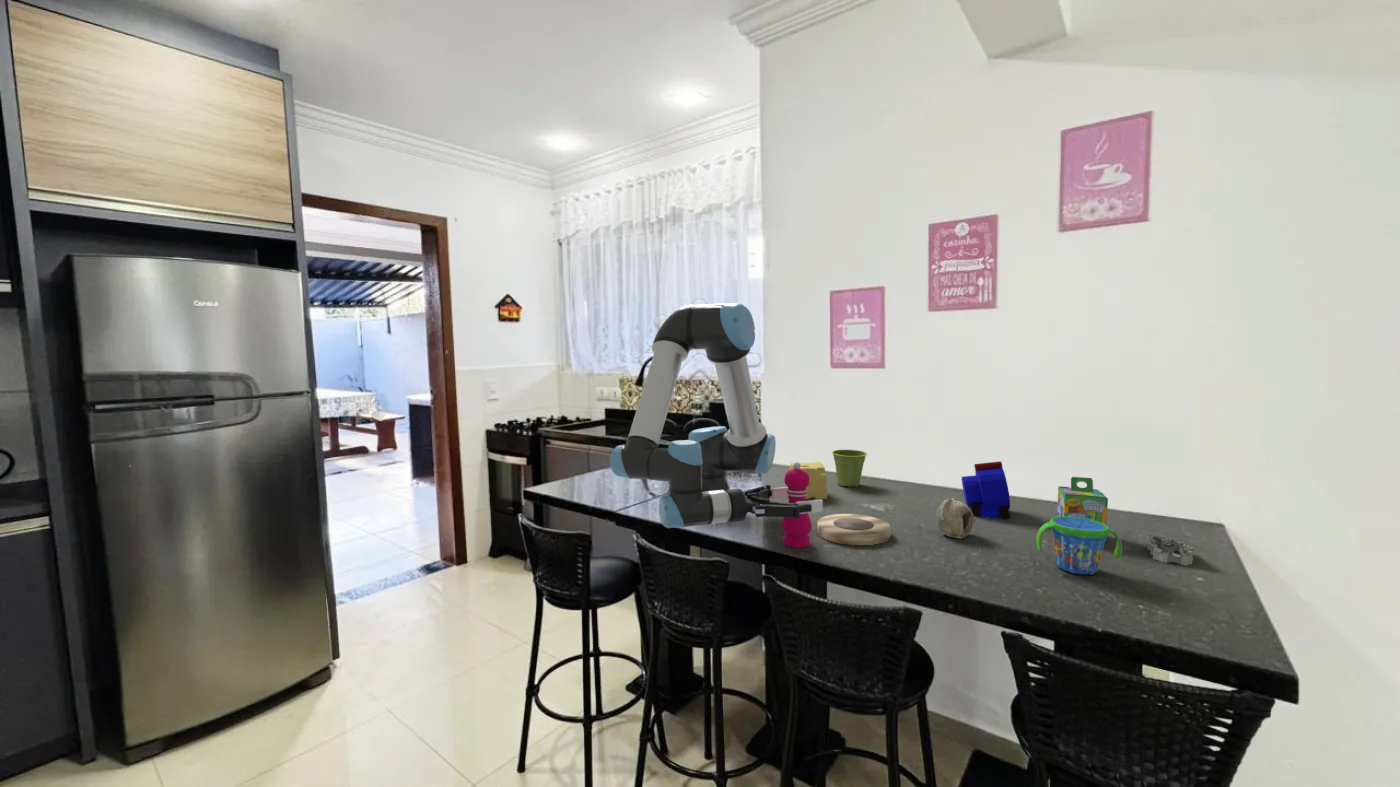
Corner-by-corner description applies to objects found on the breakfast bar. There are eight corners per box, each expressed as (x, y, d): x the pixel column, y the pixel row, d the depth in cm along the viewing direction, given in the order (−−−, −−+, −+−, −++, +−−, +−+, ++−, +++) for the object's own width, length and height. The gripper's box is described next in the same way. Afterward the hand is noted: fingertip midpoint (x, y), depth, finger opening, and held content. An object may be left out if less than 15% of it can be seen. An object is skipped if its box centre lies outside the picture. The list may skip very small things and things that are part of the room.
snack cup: (1113, 565, 127) (1115, 519, 127) (1128, 584, 118) (1131, 534, 117) (1031, 556, 133) (1033, 512, 132) (1039, 573, 123) (1041, 526, 123)
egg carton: (1194, 568, 126) (1195, 550, 126) (1150, 561, 130) (1151, 543, 130) (1186, 553, 135) (1187, 535, 135) (1145, 547, 139) (1146, 530, 139)
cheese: (827, 499, 183) (828, 468, 182) (793, 500, 183) (793, 468, 182) (821, 491, 193) (821, 461, 193) (788, 491, 194) (788, 461, 193)
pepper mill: (811, 549, 139) (812, 466, 137) (780, 547, 140) (780, 465, 139) (811, 539, 146) (812, 460, 144) (782, 537, 147) (782, 459, 146)
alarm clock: (1012, 520, 161) (1014, 466, 160) (963, 516, 165) (964, 463, 163) (1004, 508, 172) (1006, 457, 171) (959, 504, 176) (960, 455, 175)
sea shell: (941, 546, 147) (929, 510, 146) (940, 531, 155) (928, 496, 153) (981, 540, 143) (969, 503, 142) (978, 524, 151) (967, 489, 150)
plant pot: (832, 488, 197) (832, 455, 196) (830, 480, 209) (830, 449, 208) (868, 489, 195) (869, 456, 194) (864, 481, 207) (865, 449, 206)
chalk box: (1062, 540, 144) (1064, 480, 143) (1055, 529, 152) (1057, 473, 151) (1106, 544, 141) (1109, 483, 139) (1096, 533, 149) (1099, 475, 148)
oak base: (804, 526, 156) (805, 517, 156) (864, 520, 161) (864, 511, 161) (840, 549, 139) (840, 538, 139) (905, 541, 144) (905, 530, 144)
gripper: (709, 507, 149) (785, 500, 155) (745, 538, 125) (834, 528, 132) (709, 478, 148) (785, 472, 155) (745, 504, 125) (834, 495, 131)
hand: (808, 498), depth 143 cm, fingers open, 13 cm apart
